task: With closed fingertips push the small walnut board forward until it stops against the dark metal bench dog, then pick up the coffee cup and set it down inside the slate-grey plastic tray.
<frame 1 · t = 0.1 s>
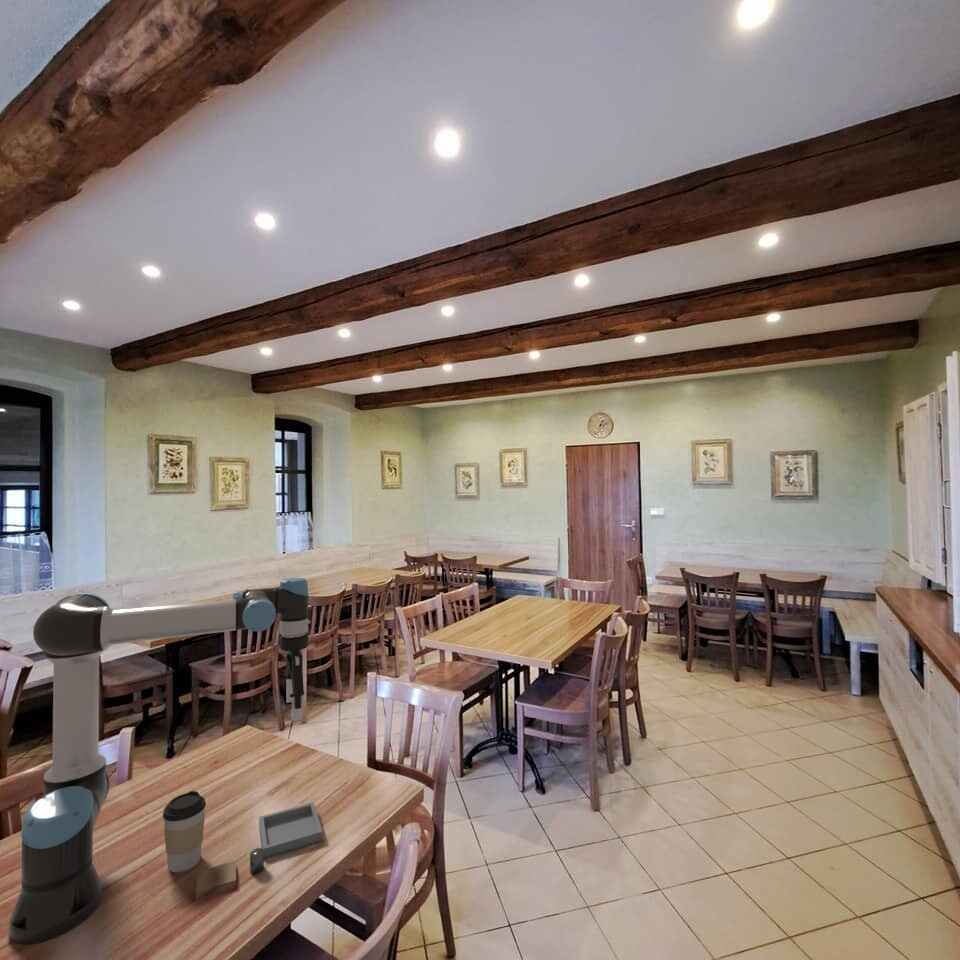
hand: (294, 710, 143), 28 cm above the table, fingers open, 13 cm apart
board: (216, 884, 116), on the table
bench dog: (257, 869, 120), on the table
coffee cup: (184, 862, 123), on the table
tray: (290, 833, 133), on the table
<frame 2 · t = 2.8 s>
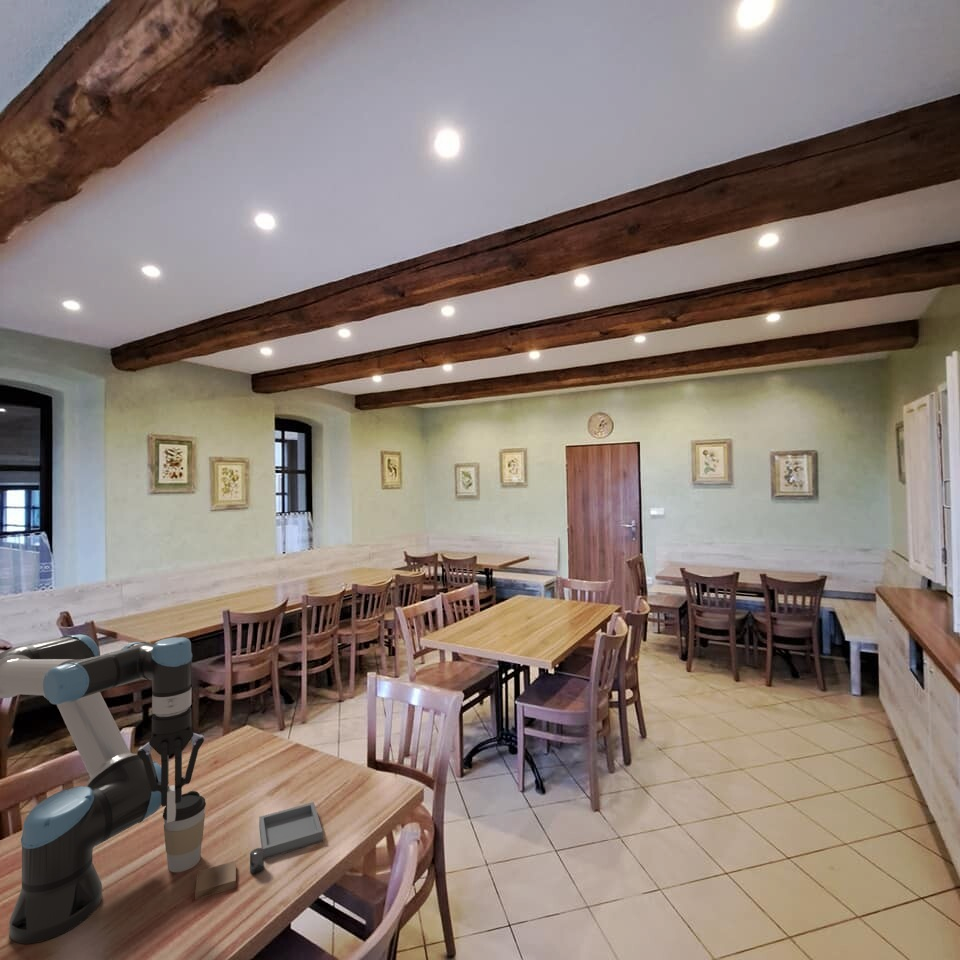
hand: (171, 818, 113), 17 cm above the table, fingers closed
nothing on the table moved.
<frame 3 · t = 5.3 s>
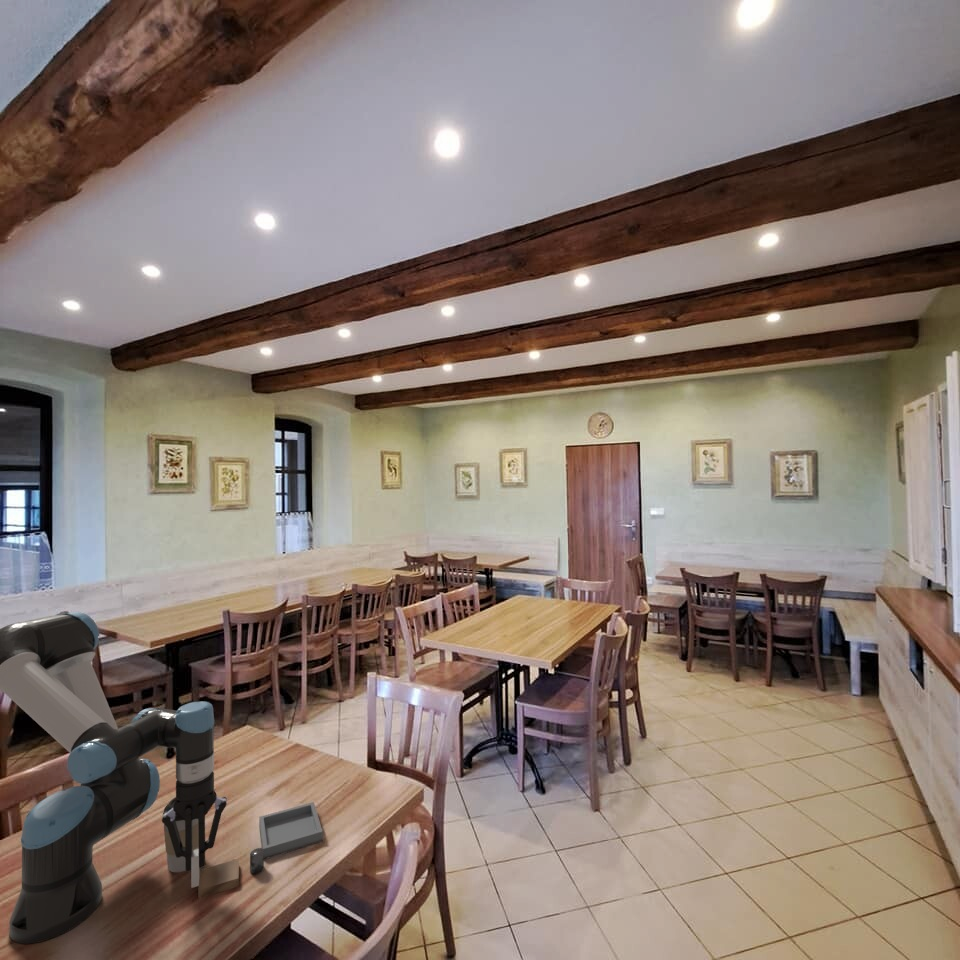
hand: (195, 882, 114), 2 cm above the table, fingers closed
board: (219, 882, 117), on the table, touching gripper
everything else where it was.
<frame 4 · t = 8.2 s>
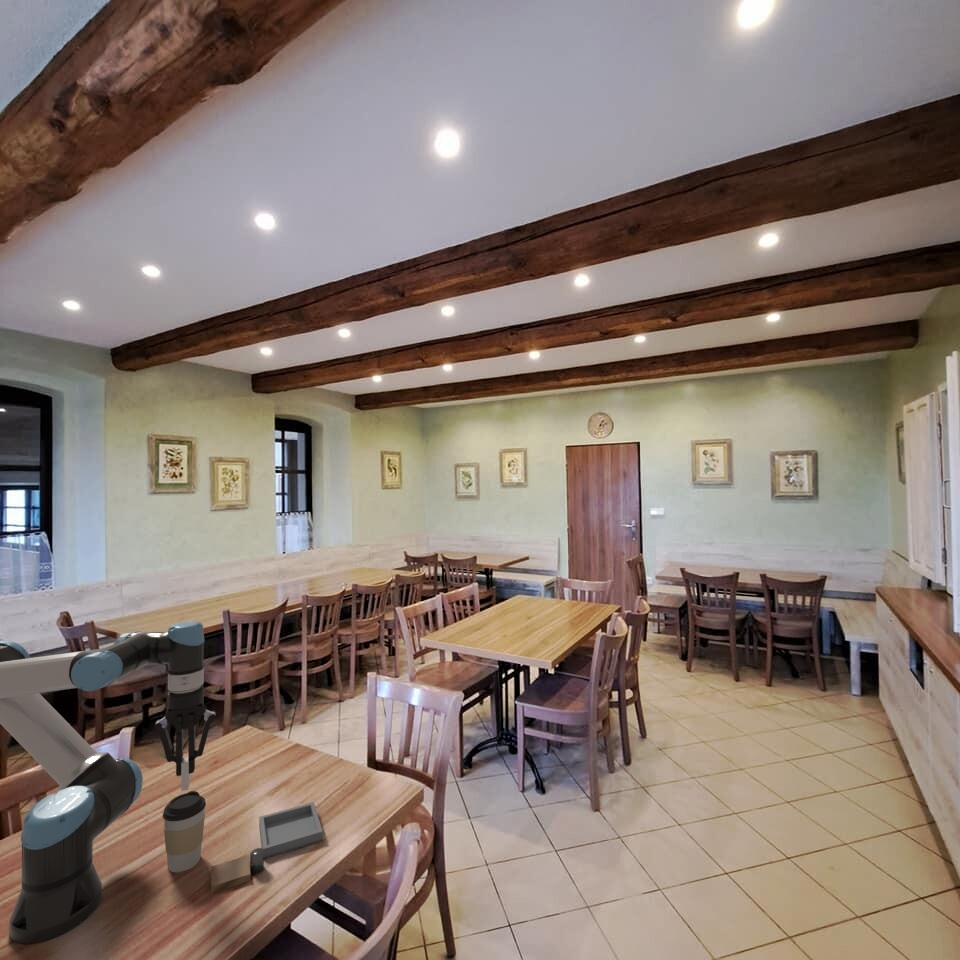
hand: (185, 787, 122), 18 cm above the table, fingers closed
board: (230, 878, 118), on the table
everything else where it was.
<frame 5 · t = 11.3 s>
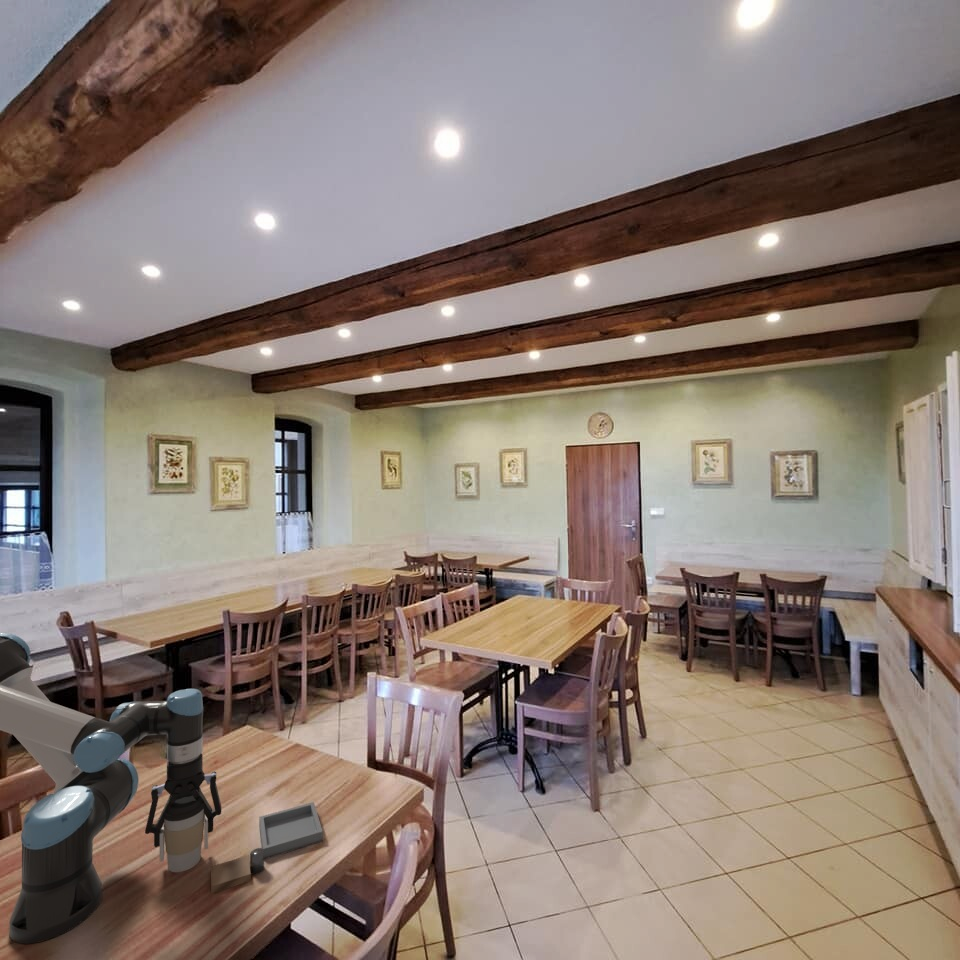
hand: (184, 851, 123), 2 cm above the table, fingers closed on coffee cup, 8 cm apart
coffee cup: (184, 862, 123), on the table, touching gripper
everything else where it was.
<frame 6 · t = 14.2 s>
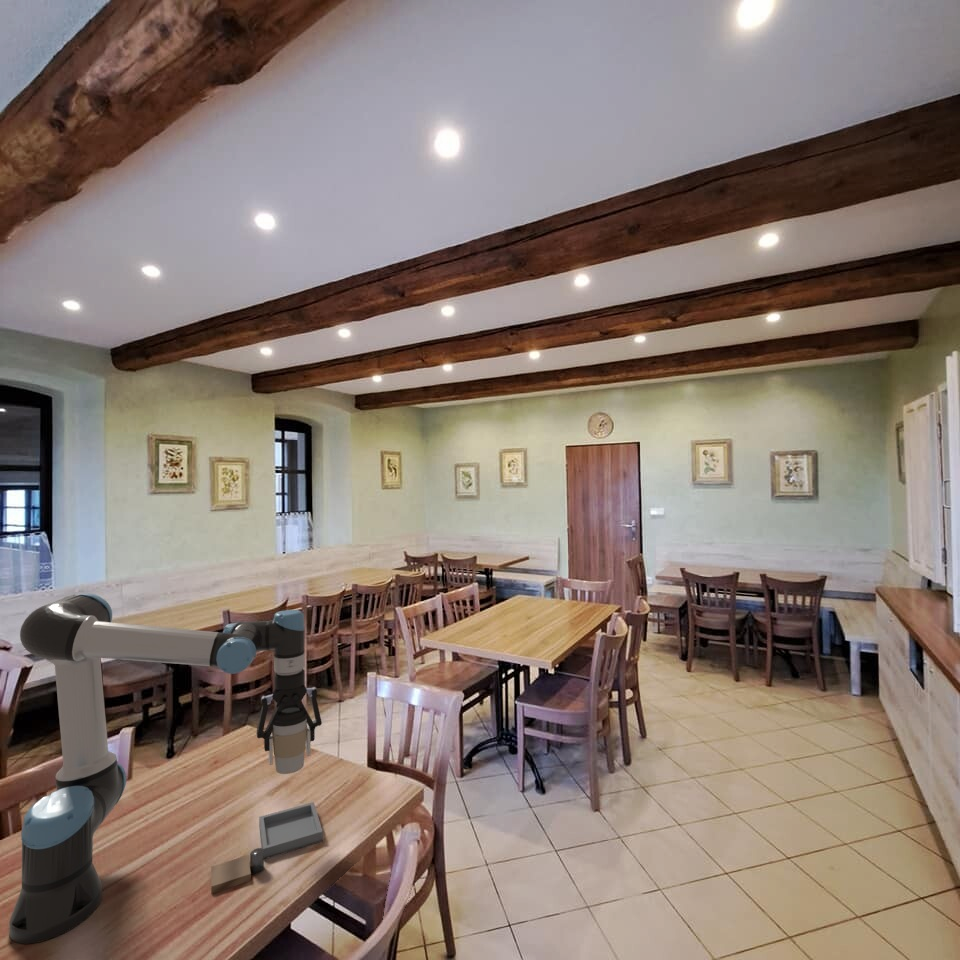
hand: (289, 757, 133), 20 cm above the table, fingers closed on coffee cup, 8 cm apart
coffee cup: (289, 767, 133), point 17 cm above the table, touching gripper
everything else where it was.
when the fingers open (5 cm above the table, at t = 17.5 s): coffee cup stays where it is, resting on tray.
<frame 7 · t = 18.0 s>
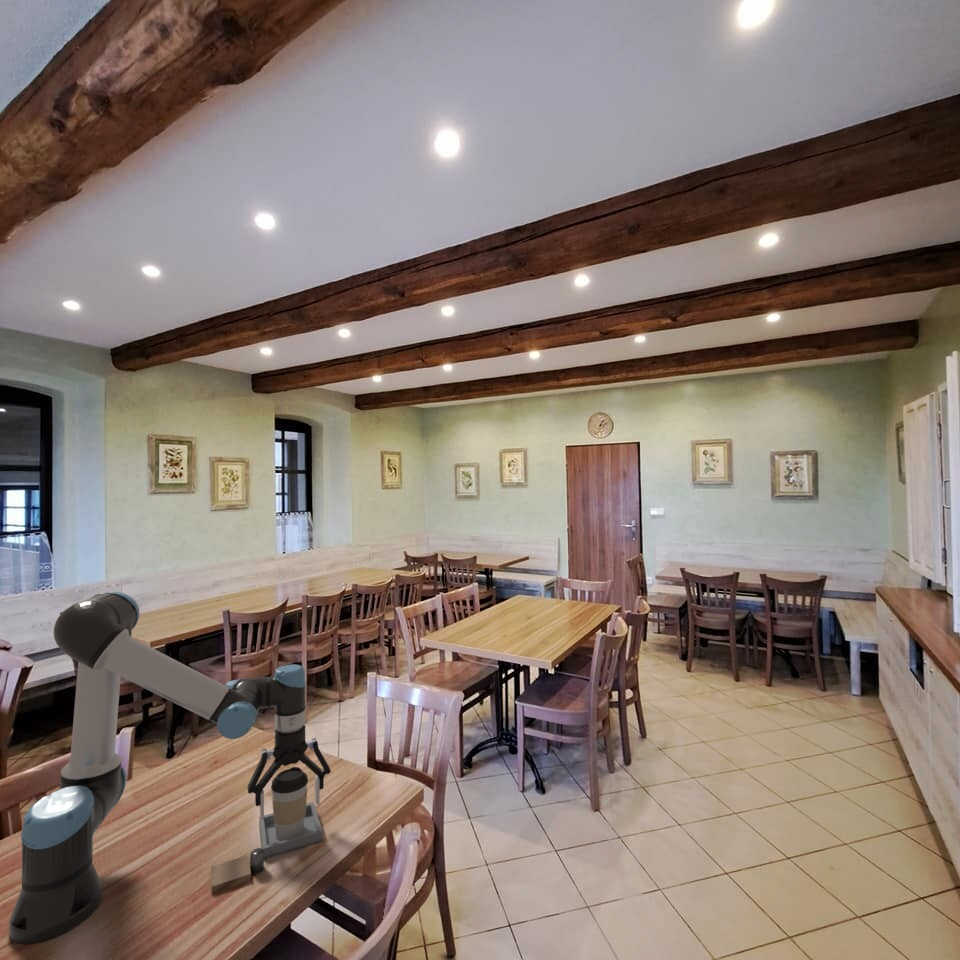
hand: (290, 809, 133), 6 cm above the table, fingers open, 13 cm apart
coffee cup: (289, 832, 133), resting on tray
everything else where it was.
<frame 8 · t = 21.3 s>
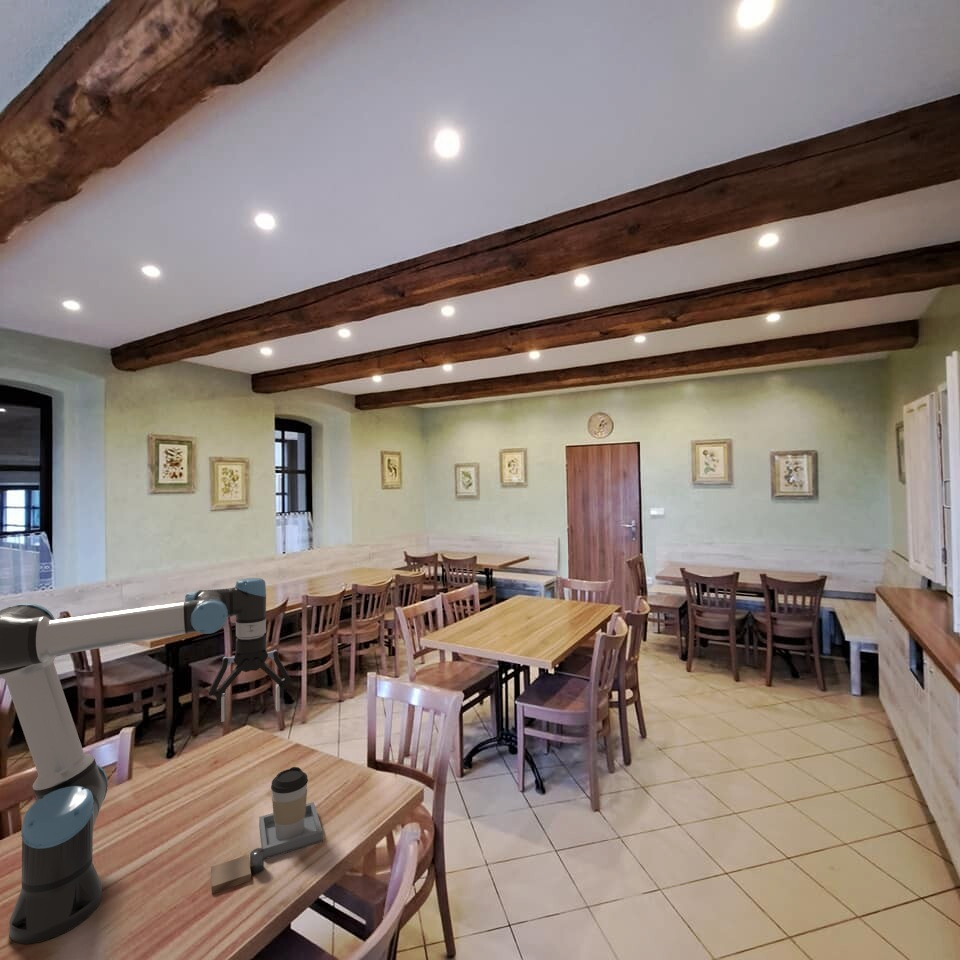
hand: (250, 714, 139), 29 cm above the table, fingers open, 13 cm apart
nothing on the table moved.
at the end: board 0.5 cm from the target spot, on the table; coffee cup inside the target area on the tray (0.1 cm from its centre), point 0.3 cm above the tray's base; coffee cup tilted 0° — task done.
